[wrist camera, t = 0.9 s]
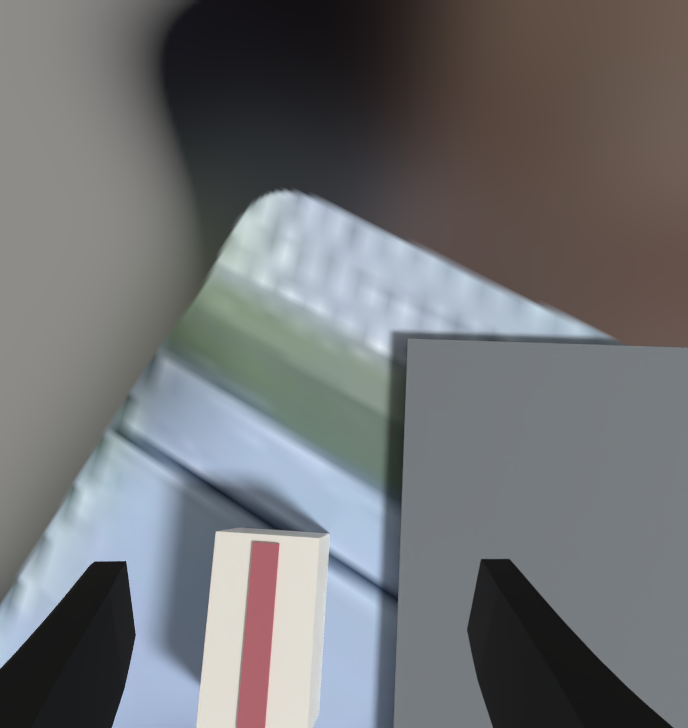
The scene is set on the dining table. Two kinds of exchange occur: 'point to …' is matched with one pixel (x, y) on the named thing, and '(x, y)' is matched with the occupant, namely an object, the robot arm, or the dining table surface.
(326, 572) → the white rectangular block
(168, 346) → the dining table surface
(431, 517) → the slate mat
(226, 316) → the dining table surface
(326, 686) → the dining table surface
